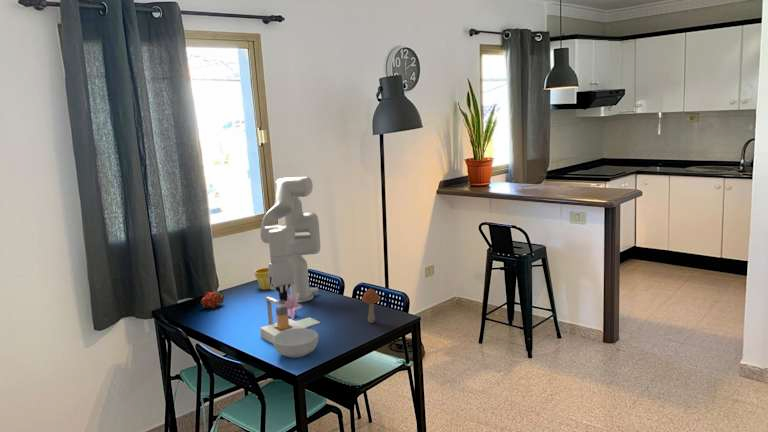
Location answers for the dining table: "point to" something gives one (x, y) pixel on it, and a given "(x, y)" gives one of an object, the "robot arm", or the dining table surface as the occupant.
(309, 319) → the pad
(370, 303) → the mushroom
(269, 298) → the grey ball-jointed lever
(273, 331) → the socket block
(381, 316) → the dining table surface
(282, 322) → the plug
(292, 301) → the lily
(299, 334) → the cereal bowl
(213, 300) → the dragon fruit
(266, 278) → the plant pot
